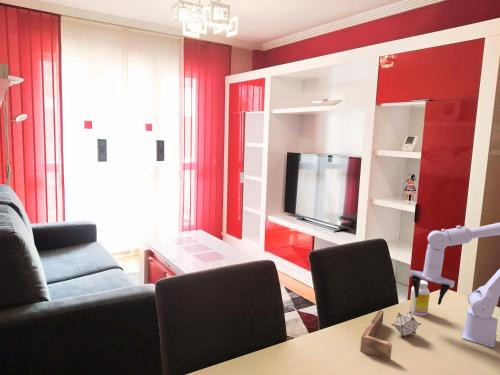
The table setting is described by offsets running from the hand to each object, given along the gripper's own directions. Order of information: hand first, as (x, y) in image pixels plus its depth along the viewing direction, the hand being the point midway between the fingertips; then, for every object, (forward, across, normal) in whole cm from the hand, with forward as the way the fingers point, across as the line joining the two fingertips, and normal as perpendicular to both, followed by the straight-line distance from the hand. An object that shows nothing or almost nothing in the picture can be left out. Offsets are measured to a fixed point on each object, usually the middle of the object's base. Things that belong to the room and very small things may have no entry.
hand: (427, 300), depth 136 cm
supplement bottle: (+11, -5, +12) cm, 17 cm away
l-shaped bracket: (+11, -9, -19) cm, 24 cm away
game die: (+11, -4, -10) cm, 16 cm away
